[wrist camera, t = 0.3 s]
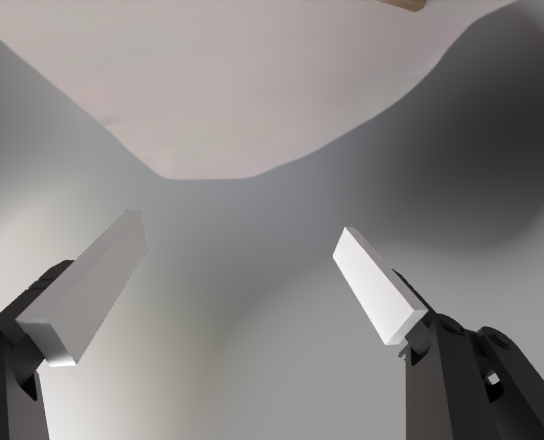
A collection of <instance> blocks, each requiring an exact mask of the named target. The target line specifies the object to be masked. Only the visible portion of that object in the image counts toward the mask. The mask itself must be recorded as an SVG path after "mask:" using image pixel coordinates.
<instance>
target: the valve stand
mask: <svg viewBox="0 0 544 440" xmlns="http://www.w3.org/2000/svg"><path fill="white" fill-rule="evenodd" d="M378 1H382V2H385V3H388V4H391V5H394V6H398V7H401V8H404V9H407V10H410V11H414V12H416V11H418V10H420V9H422V8H423V7H424V4H425V2H426V0H378Z"/></svg>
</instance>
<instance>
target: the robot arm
mask: <svg viewBox="0 0 544 440" xmlns="http://www.w3.org/2000/svg"><path fill="white" fill-rule="evenodd" d="M147 249H148V247H147V242H146V236H145V230H144V224H143V218H142V212H141V211H131V210H126V211H125V212H124V213H123V214H122V215H121V216H120V217H119V218H118V219H117V220H116V221H115V222H114V223H113V224H112V225H111V226H110V227H109V228H108V229H107V230H106V231H105V232H104V233H103V234H102V235H101V236H100V237H99V238H98V239H96V240H95V241H94V242H93V243H92V244H91V245H90V246H89V247H88V249H86V250H85V251H84V252H83V253H82V254H81V255H80V256H79V257H78V258H77V259H76V260H65V261H62V262H61V263H59V264H57V265H55V266H53V267H52V268H50V269H49V270H48V271H46V272H45V273H44V274H43V275H42V276H41V277H40V278H39V279H38V281H35V282H34V283H33V284H32V285H31V286H30V287H29V289H28V290H25V291H24V292H23V293H22V294H21V295H19V296H18V298H16V299H15V300H14V301H13V302H12V303H11V304H10V305H8V306H7V307H6V308H5V309H4V310H3V311H2V312H0V440H49V434H48V428H47V423H46V416H45V409H44V403H43V397H42V391H41V385H40V379H39V374H38V373H37V371H36V369H37V368H38V367H39V365H40V364H41V363H42V361H43V360H44V359H46V361H47V362H48V363H49V365H50V366H51V367H54V366H69V365H77V363H78V362H79V360H80V358H81V357H82V355H83V354H84V352H85V350H86V348H87V347H88V345H89V344H90V342H91V341H92V339H93V337H94V336H95V334H96V332H97V331H98V329H99V327H100V326H101V324H102V322H103V321H104V319H105V318H106V316H107V314H108V313H109V311H110V310H111V308H112V306H113V305H114V303H115V301H116V300H117V298H118V296H119V295H120V293H121V292H122V290H123V288H124V287H125V285H126V283H127V281H128V280H129V278H130V277H131V275H132V273H133V272H134V270H135V269H136V267H137V265H138V264H139V262H140V261H141V259H142V257H143V256H144V254H145V252H146V251H147ZM333 258H334V260H335V261H336V263H337V265H338V266H339V268H340V270H341V271H342V273H343V275H344V276H345V278H346V280H347V281H348V283H349V285H350V286H351V288H352V290H353V291H354V293H355V295H356V297H357V298H358V300H359V301H360V303H361V305H362V307H363V308H364V310H365V312H366V313H367V315H368V317H369V318H370V320H371V322H372V323H373V325H374V327H375V328H376V330H377V332H378V333H379V335H380V336H381V338H382V340H383V342H384V343H385V345H394V344H399V343H400V342H401V341H402V339H403V338H404V337H405V338H406V340H407V341H408V344H407V345H406V346H405V347H404V349H403V350H402V351H401V352H400V353H399V355H398V357H400V358H401V357H402V356H403V355H404V354H406V358H405V359H404V360H405V361H406V440H544V380H543V379H542V378H541V376H540V375H539V374H538V372H537V371H536V370H535V369H534V367H533V366H532V365H531V363H530V362H529V361H528V359H527V358H526V357H525V356H524V354H523V353H522V352H521V350H520V349H519V348H518V346H517V345H516V344H515V343H514V342H513V341H512V340H511V339H509V338H508V337H507V336H506V335H505V334H503V333H501V332H500V331H498V330H496V329H493V328H491V327H487V326H485V327H482V328H481V329H479V330H478V331H477V332H474V331H470V330H467V329H464V328H463V327H462V326H461V325H460V324H459V323H458V322H456V321H455V320H454V319H452V318H450V317H449V316H446V315H444V314H437V313H436V312H435V311H434V310H433V309H432V308H431V307H430V306H429V304H428V303H427V302H426V301H425V300H424V299H423V298H422V297H421V296H420V295H419V294H418V293H417V292H416V290H414V288H413V287H412V286H411V285H410V284H408V282H407V281H406V280H405V279H404V277H402V275H400V274H399V273H397V272H396V271H395V270H394V269H391V268H390V267H389V266H388V265H387V263H386V262H385V261H384V260H383V259H382V258H381V257H380V256H379V254H378V253H376V251H375V250H374V249H373V248H372V247H371V246H370V244H368V242H367V241H366V240H365V239H364V238H363V237H362V236H361V234H360V233H359V232H358V231H357V230H356V229H355V228H350V227H345V228H344V231H343V233H342V236H341V238H340V240H339V242H338V245H337V247H336V250H335V252H334V254H333ZM494 373H496V375H497V376H498V378H499V380H500V381H499V382H497V383H496V384H493V385H492V384H491V382H490V381H489V379H488V377H489V376H491V375H492V374H494Z"/></svg>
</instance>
